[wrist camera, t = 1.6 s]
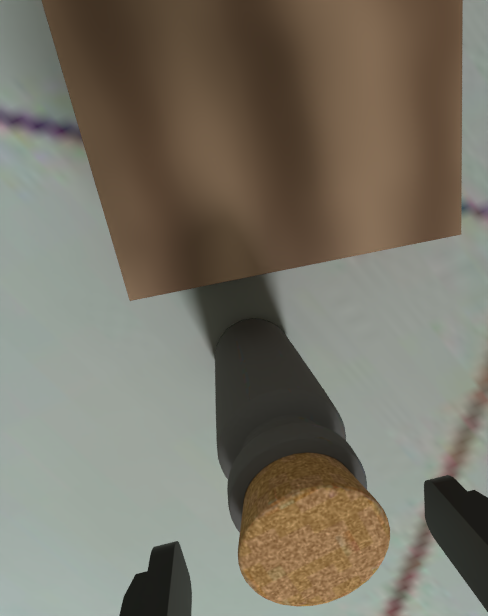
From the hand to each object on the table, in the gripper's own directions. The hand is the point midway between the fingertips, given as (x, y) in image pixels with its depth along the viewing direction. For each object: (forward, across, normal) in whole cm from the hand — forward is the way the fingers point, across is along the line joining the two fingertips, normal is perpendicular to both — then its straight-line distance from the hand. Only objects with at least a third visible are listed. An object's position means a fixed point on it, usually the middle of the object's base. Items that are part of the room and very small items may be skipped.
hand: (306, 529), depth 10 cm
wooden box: (+14, -3, -14) cm, 21 cm away
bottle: (+15, 0, 0) cm, 15 cm away
